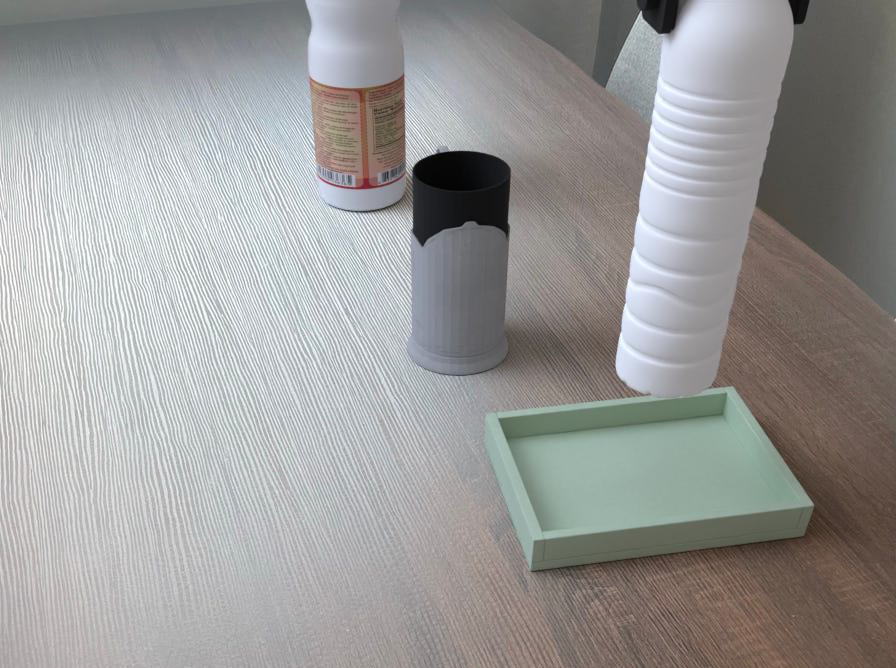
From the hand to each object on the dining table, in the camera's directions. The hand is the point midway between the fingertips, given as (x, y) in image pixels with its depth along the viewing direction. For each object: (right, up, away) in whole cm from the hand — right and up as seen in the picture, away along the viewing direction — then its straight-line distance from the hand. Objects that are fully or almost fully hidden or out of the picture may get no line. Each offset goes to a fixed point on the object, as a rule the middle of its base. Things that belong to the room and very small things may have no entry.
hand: (721, 17), depth 53 cm
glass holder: (-13, -5, +38) cm, 40 cm away
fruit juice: (-22, +15, +57) cm, 63 cm away
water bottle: (+1, -14, +15) cm, 20 cm away
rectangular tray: (0, -21, +22) cm, 31 cm away
